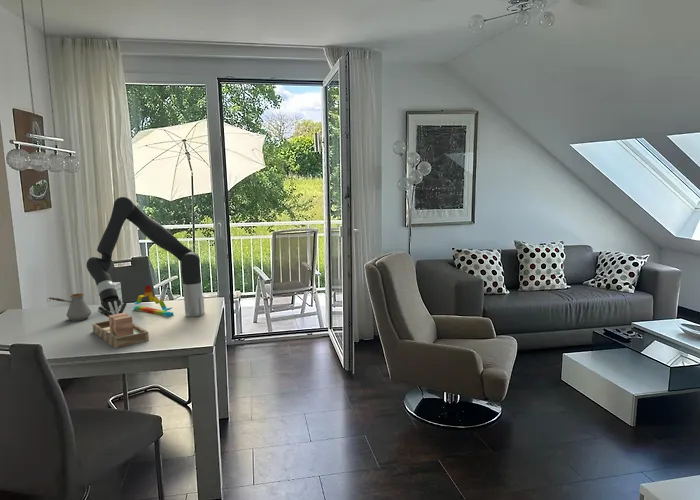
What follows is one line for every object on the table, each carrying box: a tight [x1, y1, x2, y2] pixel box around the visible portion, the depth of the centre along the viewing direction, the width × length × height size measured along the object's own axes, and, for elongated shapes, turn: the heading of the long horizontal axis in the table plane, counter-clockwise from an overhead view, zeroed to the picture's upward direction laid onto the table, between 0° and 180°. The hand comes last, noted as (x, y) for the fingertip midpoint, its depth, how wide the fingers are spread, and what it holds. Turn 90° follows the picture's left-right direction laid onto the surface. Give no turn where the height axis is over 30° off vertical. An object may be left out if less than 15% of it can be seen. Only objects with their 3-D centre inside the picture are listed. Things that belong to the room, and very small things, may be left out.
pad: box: [110, 328, 140, 338], centre depth 224 cm, size 10×12×2 cm
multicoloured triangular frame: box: [133, 284, 174, 318], centre depth 267 cm, size 30×3×15 cm, turn 57°
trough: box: [91, 320, 150, 349], centre depth 228 cm, size 33×14×4 cm, turn 42°
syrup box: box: [112, 281, 123, 310], centre depth 279 cm, size 6×6×14 cm
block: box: [108, 312, 134, 337], centre depth 223 cm, size 10×7×8 cm
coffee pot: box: [47, 293, 92, 322], centre depth 254 cm, size 21×12×15 cm, turn 156°
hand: (117, 322), depth 228 cm, fingers closed
